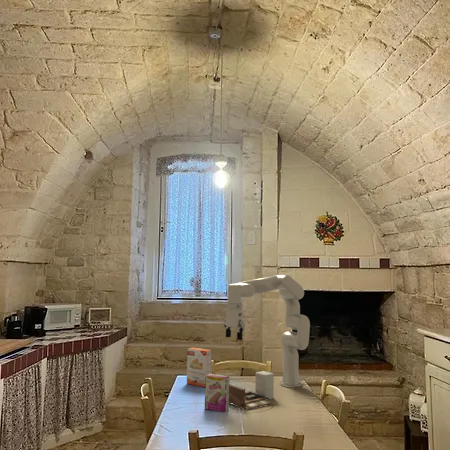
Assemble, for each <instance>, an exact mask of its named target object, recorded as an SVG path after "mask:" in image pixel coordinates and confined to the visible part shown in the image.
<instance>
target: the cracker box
mask: <svg viewBox="0 0 450 450" xmlns="http://www.w3.org/2000/svg"><path fill="white" fill-rule="evenodd" d="M186 358H187V360H186V385H192V386H197V387H202V388H205V380H206V375H208V374H212V349H206V348H201V347H188V348H187V357H186Z"/></svg>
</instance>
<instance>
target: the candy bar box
mask: <svg viewBox="0 0 450 450" xmlns="http://www.w3.org/2000/svg"><path fill="white" fill-rule="evenodd" d="M229 384H230V375H224V374H216V373H211V374H208V375H206V380H205V387H204V393H205V394H204V410H206V411H207V410H208V411H212V412H213V411H214V412H222V413H227V411H229V408H230V407H229V406H230V405H229V404H230V403H229Z"/></svg>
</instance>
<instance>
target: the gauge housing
mask: <svg viewBox="0 0 450 450" xmlns="http://www.w3.org/2000/svg"><path fill="white" fill-rule="evenodd" d="M248 395H249V391H246V389H245V388H243V387H239V386H237V385H234V384H231V383H229V402H230V403H233V404H235V405H237V406H236V407H238V406H239V408H240V407H242V408H241V409H243V408H244V409H243V410H245V409H250V410H253V409H252V408H254V409H257V408H256V407H258V408H261V407H260V406H263V407H266V406H265V405H267V406H270V405H272V404H271V401H270V400H265V398H255V399H251V400H248V399H245V396H248ZM230 403H229V404H230ZM233 404H232V405H233ZM235 405H234V406H235Z"/></svg>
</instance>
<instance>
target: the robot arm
mask: <svg viewBox="0 0 450 450" xmlns="http://www.w3.org/2000/svg"><path fill="white" fill-rule="evenodd" d="M276 290H278V293H279V296H280V297H281V298H282V299H283V301H284V304H285V319H284V321H285V322H284V324H285V327H286V328H287V329H290V331H285V332H283V333H282V335H281V339H280V342H281V347H282V380H281V381H280V382H279V384H280V386H281V387H285V388H300V387H302V383H301V381H304V377H303V376H299V366H300V365H299V356H300V355H299V352H298V350H301V351H304V350H306V349H307V348H308V346H309V343H310V342H309V341H310V332H311V331H310V329H311V322H310V319H309V317H308V316H306V315H304V314H301V305H300V302H299V300H301V299H303V297H304V295H305V290H304V288H303V286H302V285H301V284H300V283H299V282H297V281H296V280H295V279H294V278H293V277H291V276H290V275H287V274H274V275H270V276H266V277H262V278H256V279H250V280H245V281H244V280H243V281H241V282H237V283H230V284H229V285H228V286H227V310H226V314H225V315H226V316H225V320H223V324H224V325H223V326H224V328H225V338H231V336H232V328H233V329H236V339H237V341H239V340H243V333H244V330H245V327H246V324H245V323H244V315H243V310H242V298H251V297H253V296H254V295H255V294H265V293H268V292H273V291H276ZM291 330H293V331H291ZM294 330H295V331H294ZM296 331H297V332H296Z"/></svg>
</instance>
